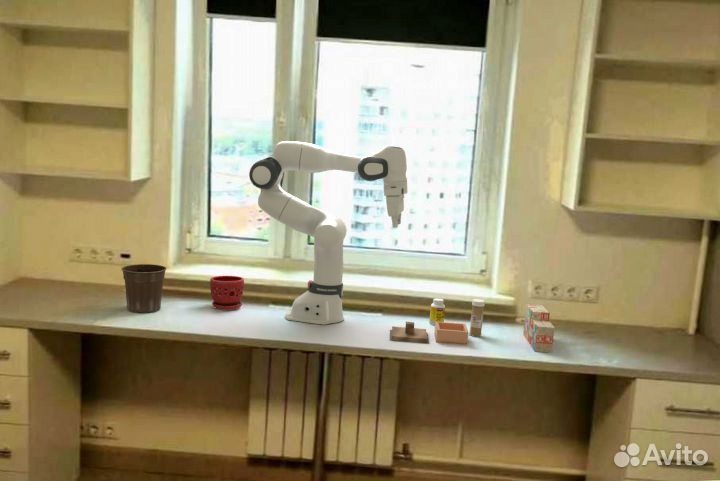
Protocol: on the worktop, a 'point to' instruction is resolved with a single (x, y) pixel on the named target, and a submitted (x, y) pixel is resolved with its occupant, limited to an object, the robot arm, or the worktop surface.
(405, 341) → the mat
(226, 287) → the plant pot
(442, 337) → the orange open box
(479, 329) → the sprinkles bottle
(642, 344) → the worktop surface
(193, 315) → the worktop surface
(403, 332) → the lid
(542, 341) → the red and white cartons
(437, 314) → the supplement bottle
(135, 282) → the plant pot
